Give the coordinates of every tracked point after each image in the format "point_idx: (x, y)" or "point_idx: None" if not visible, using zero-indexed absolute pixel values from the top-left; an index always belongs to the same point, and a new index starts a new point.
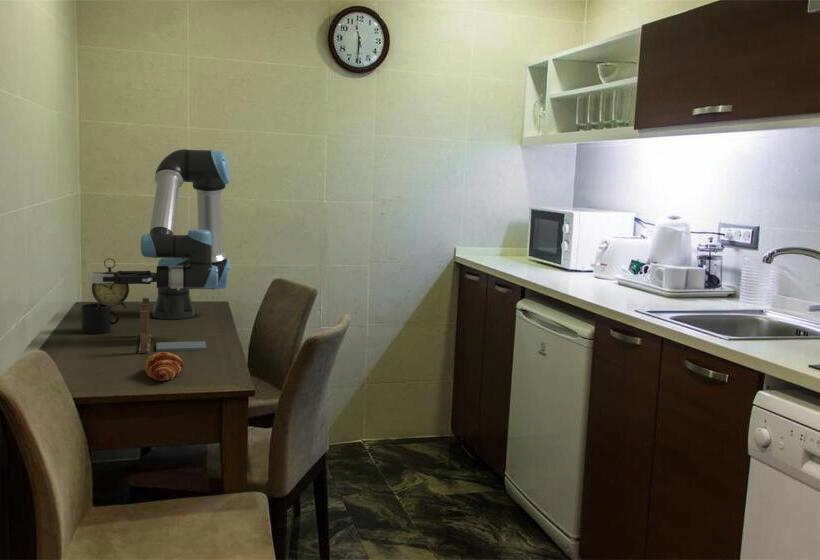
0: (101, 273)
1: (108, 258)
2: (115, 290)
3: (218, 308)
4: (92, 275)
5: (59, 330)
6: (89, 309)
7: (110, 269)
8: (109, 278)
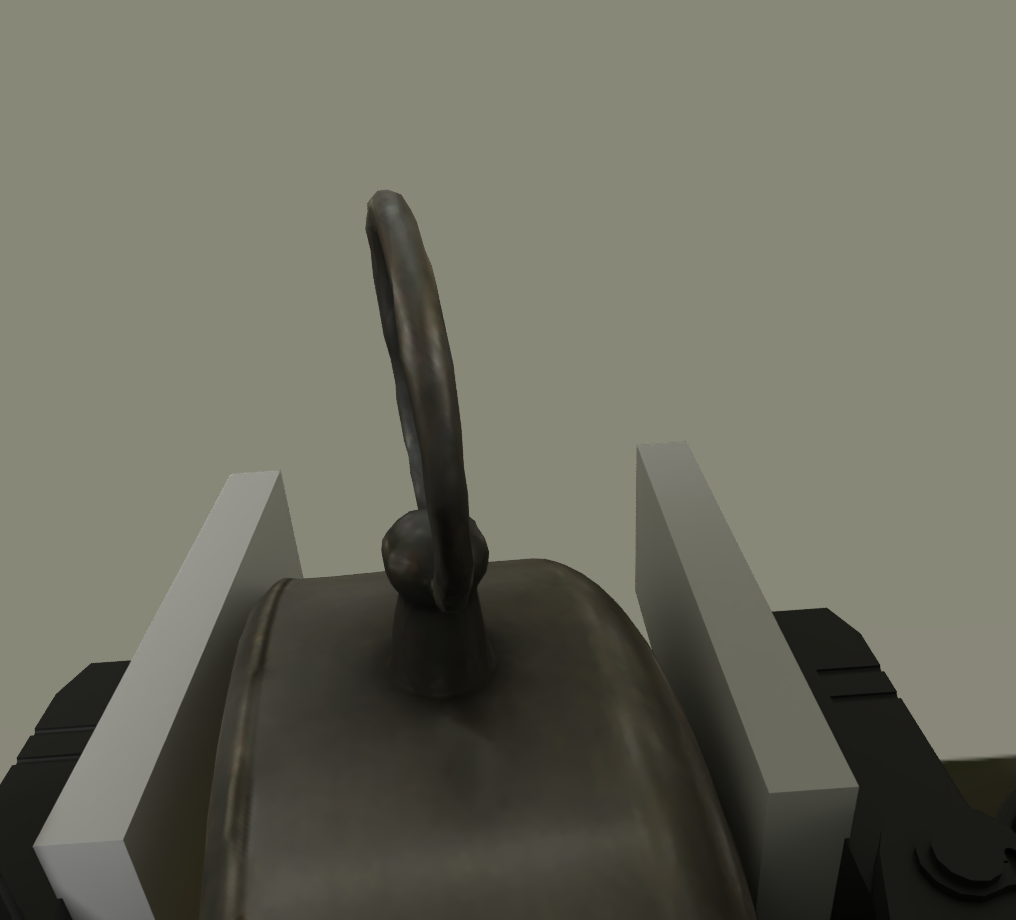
0: (546, 561)
1: (385, 191)
2: None
3: None
4: (229, 496)
5: (1000, 771)
6: None
7: (399, 613)
8: (8, 821)
